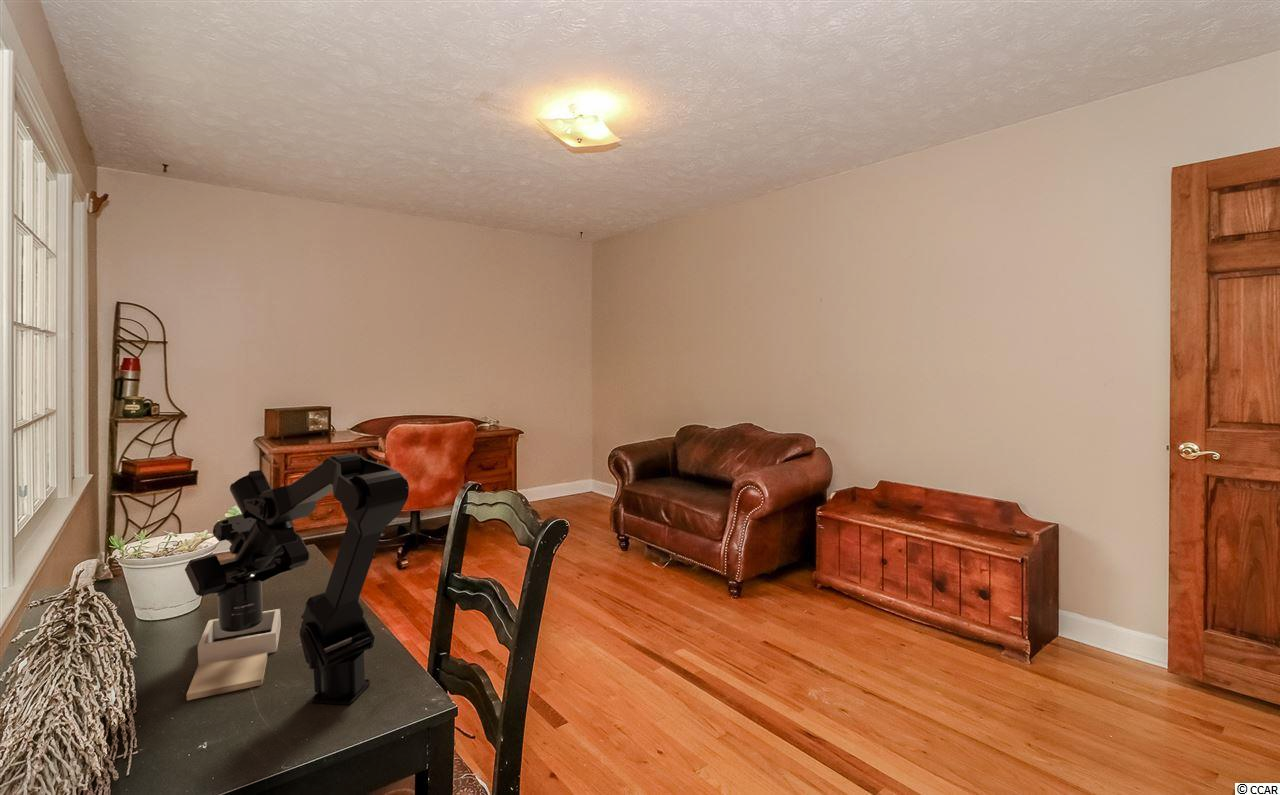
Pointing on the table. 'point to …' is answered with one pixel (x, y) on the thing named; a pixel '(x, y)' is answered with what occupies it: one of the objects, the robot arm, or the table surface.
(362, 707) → the table surface
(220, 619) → the supplement bottle
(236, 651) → the white open box
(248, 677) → the birch pad
